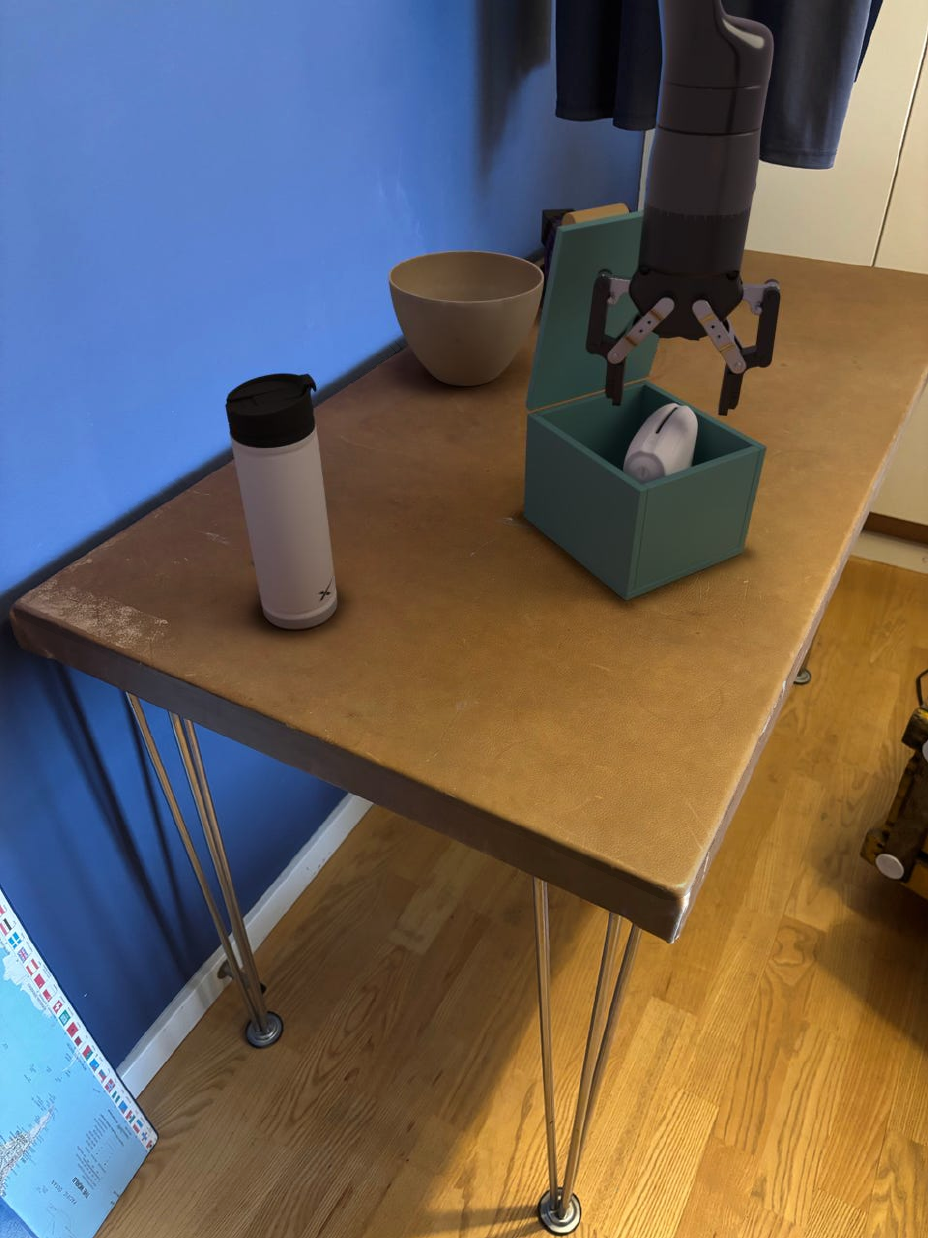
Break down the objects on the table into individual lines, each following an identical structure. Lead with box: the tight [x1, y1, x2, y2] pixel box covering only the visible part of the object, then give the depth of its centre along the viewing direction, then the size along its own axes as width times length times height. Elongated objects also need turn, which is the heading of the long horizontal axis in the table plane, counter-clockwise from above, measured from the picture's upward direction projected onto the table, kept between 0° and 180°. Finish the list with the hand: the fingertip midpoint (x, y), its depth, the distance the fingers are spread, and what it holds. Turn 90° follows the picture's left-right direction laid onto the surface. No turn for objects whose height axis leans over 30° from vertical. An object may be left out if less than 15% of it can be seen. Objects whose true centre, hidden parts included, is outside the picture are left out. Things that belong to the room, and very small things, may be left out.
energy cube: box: [539, 206, 633, 305], centre depth 126 cm, size 12×12×12 cm
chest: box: [522, 379, 768, 601], centre depth 82 cm, size 16×14×11 cm
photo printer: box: [623, 403, 698, 485], centre depth 79 cm, size 10×4×12 cm, turn 153°
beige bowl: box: [388, 250, 544, 387], centre depth 110 cm, size 18×18×12 cm
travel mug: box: [224, 372, 339, 630], centre depth 71 cm, size 6×7×20 cm
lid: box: [524, 202, 661, 412], centre depth 78 cm, size 16×14×5 cm
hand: (669, 406), depth 75 cm, fingers open, 8 cm apart
